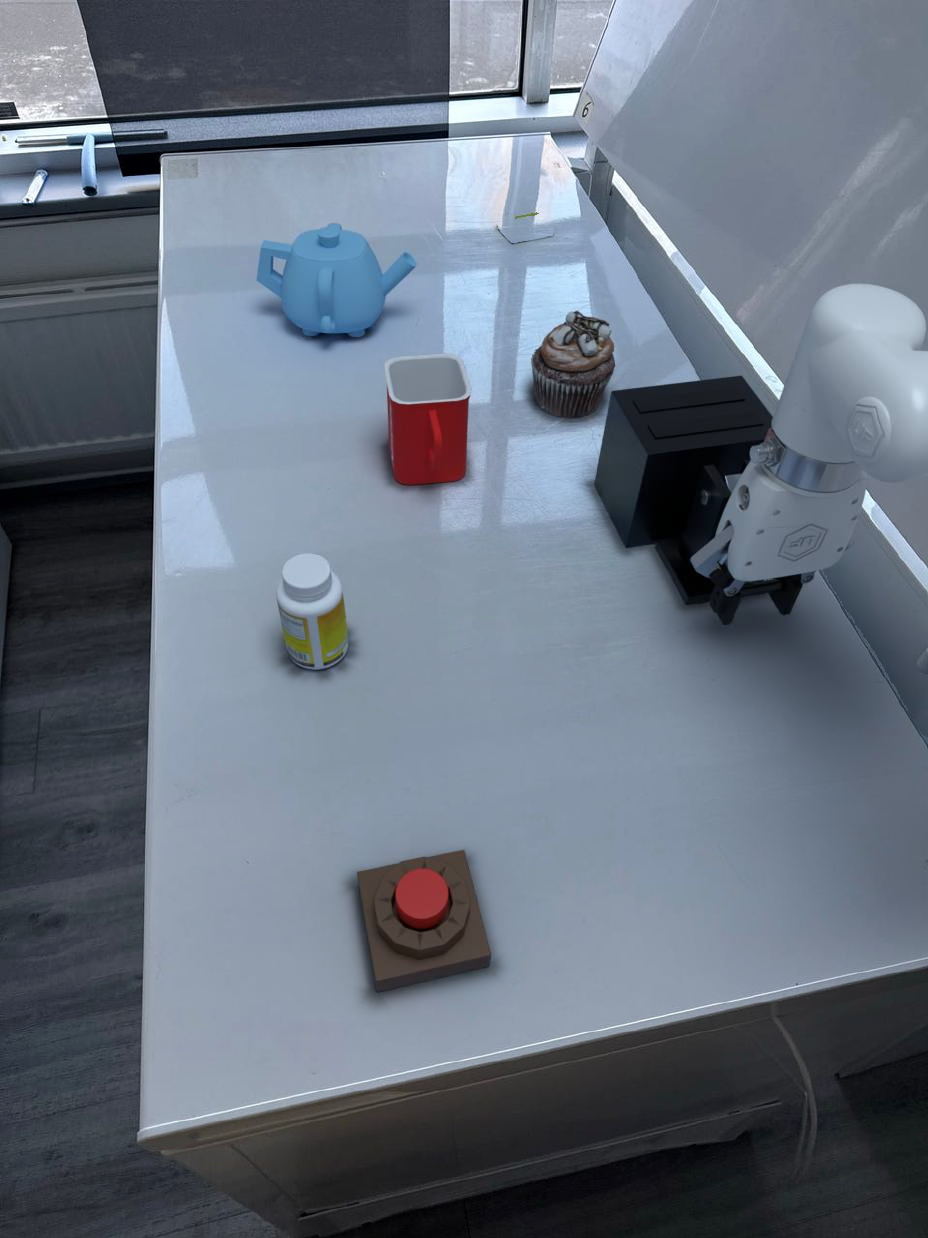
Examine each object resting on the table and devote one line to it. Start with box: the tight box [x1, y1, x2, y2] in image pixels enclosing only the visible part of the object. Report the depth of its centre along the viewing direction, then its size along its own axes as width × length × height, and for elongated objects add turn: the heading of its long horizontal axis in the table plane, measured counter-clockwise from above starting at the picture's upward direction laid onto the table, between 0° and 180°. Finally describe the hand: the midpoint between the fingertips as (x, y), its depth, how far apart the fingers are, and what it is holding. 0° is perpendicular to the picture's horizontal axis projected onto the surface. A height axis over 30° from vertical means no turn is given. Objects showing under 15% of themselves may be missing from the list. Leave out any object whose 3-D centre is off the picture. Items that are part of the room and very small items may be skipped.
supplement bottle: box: [275, 553, 349, 670], centre depth 77 cm, size 6×6×10 cm
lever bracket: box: [655, 460, 751, 605], centre depth 85 cm, size 8×8×12 cm
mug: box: [383, 353, 472, 486], centre depth 93 cm, size 12×8×11 cm
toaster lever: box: [722, 473, 786, 599], centre depth 81 cm, size 11×5×2 cm, turn 14°
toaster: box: [593, 375, 774, 548], centre depth 90 cm, size 10×14×12 cm
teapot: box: [256, 222, 418, 338], centre depth 112 cm, size 20×17×12 cm
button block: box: [356, 849, 492, 993], centre depth 63 cm, size 8×8×4 cm
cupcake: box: [530, 310, 616, 419], centre depth 103 cm, size 10×10×10 cm
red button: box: [395, 868, 449, 929], centre depth 61 cm, size 4×4×2 cm
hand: (749, 607), depth 82 cm, fingers closed on toaster lever, 5 cm apart
